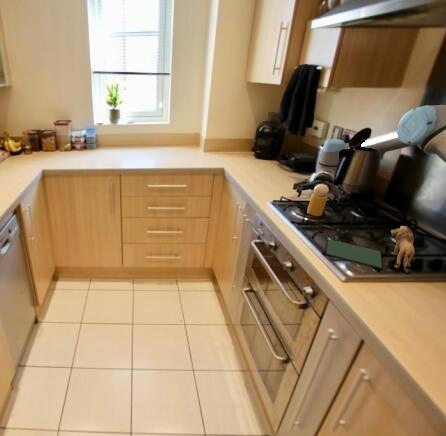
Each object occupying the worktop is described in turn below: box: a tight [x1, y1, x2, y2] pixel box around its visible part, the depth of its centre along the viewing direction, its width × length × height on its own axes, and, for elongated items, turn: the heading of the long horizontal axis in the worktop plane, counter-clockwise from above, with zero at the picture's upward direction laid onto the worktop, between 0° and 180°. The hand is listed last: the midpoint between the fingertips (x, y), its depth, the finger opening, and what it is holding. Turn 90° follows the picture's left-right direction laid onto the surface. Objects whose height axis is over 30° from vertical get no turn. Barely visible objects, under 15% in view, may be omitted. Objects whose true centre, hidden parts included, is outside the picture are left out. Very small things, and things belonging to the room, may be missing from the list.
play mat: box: [325, 239, 383, 270], centre depth 99 cm, size 14×10×1 cm
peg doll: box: [306, 184, 329, 217], centre depth 121 cm, size 5×5×12 cm
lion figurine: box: [390, 225, 415, 273], centre depth 94 cm, size 15×5×9 cm, turn 156°
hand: (318, 197), depth 123 cm, fingers open, 13 cm apart
